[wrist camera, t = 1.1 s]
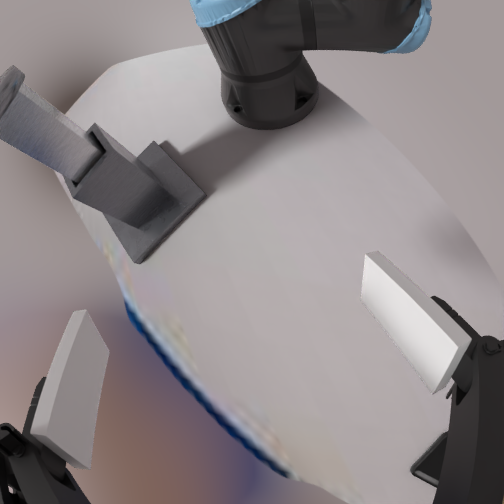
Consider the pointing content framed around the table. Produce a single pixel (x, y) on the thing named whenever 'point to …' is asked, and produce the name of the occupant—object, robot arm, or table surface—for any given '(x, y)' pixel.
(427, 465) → the phone
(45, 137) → the column
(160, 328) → the table surface
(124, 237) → the jack stand base
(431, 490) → the table surface
